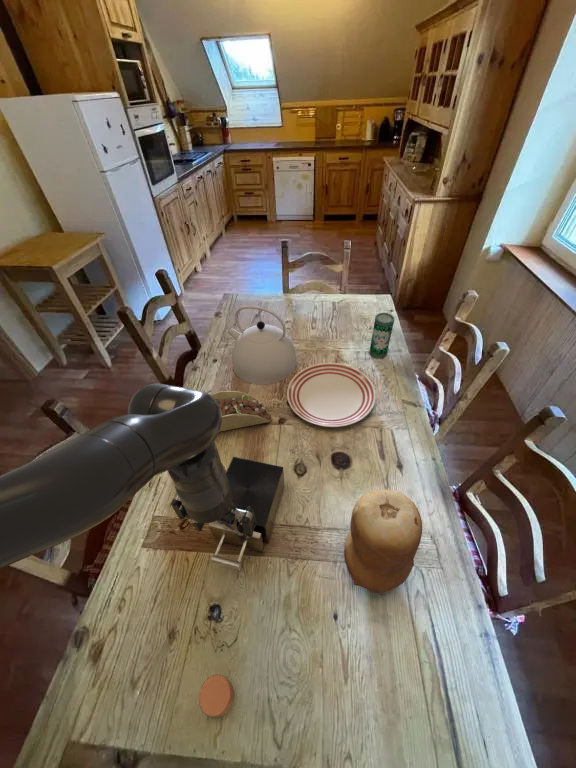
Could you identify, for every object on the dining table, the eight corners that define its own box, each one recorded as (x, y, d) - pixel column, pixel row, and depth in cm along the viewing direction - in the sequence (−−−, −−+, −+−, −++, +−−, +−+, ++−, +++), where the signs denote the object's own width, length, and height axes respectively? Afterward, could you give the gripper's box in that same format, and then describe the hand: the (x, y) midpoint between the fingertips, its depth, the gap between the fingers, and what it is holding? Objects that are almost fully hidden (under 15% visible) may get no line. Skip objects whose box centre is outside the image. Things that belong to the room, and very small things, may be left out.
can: (368, 357, 122) (375, 321, 111) (369, 346, 126) (375, 311, 116) (386, 359, 121) (394, 323, 110) (386, 348, 125) (394, 313, 114)
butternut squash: (359, 521, 80) (374, 462, 62) (415, 555, 74) (449, 501, 56) (329, 575, 72) (337, 524, 54) (389, 618, 66) (420, 577, 48)
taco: (274, 430, 100) (272, 407, 93) (180, 448, 96) (170, 425, 89) (268, 406, 106) (266, 383, 99) (180, 422, 103) (171, 399, 96)
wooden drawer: (253, 581, 70) (250, 569, 65) (203, 566, 73) (195, 554, 68) (278, 496, 84) (277, 480, 79) (235, 486, 86) (231, 470, 81)
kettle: (215, 373, 118) (201, 318, 102) (245, 336, 133) (237, 283, 117) (281, 391, 111) (277, 335, 95) (305, 350, 126) (305, 295, 110)
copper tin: (238, 706, 58) (234, 704, 54) (210, 724, 56) (204, 724, 53) (228, 671, 61) (224, 668, 57) (201, 688, 59) (195, 686, 56)
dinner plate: (299, 441, 96) (299, 434, 94) (279, 377, 116) (278, 370, 113) (389, 422, 100) (391, 415, 98) (355, 363, 120) (356, 356, 117)
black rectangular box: (268, 544, 77) (265, 527, 70) (216, 530, 79) (208, 513, 73) (284, 486, 87) (283, 466, 80) (238, 476, 89) (233, 456, 83)
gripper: (148, 499, 51) (177, 542, 62) (239, 521, 48) (251, 562, 59) (173, 457, 56) (195, 504, 67) (256, 475, 53) (264, 521, 64)
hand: (221, 531), depth 63 cm, fingers open, 7 cm apart
